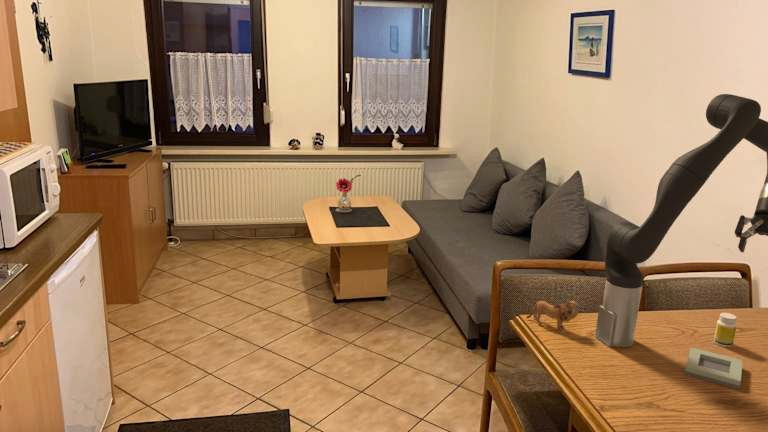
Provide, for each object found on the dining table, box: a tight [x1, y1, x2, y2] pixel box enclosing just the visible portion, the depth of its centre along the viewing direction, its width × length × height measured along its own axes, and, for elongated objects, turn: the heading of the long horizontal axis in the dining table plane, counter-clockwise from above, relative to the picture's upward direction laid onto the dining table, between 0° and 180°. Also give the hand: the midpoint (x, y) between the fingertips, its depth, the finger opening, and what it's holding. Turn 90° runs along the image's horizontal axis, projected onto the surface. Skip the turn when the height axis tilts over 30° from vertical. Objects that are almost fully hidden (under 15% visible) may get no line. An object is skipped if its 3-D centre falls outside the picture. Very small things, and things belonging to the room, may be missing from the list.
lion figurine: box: [525, 300, 579, 333], centre depth 176 cm, size 15×5×9 cm, turn 59°
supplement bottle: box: [713, 312, 738, 348], centre depth 169 cm, size 5×5×8 cm
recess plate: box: [684, 347, 743, 390], centre depth 155 cm, size 12×12×2 cm
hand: (758, 254), depth 170 cm, fingers open, 8 cm apart
